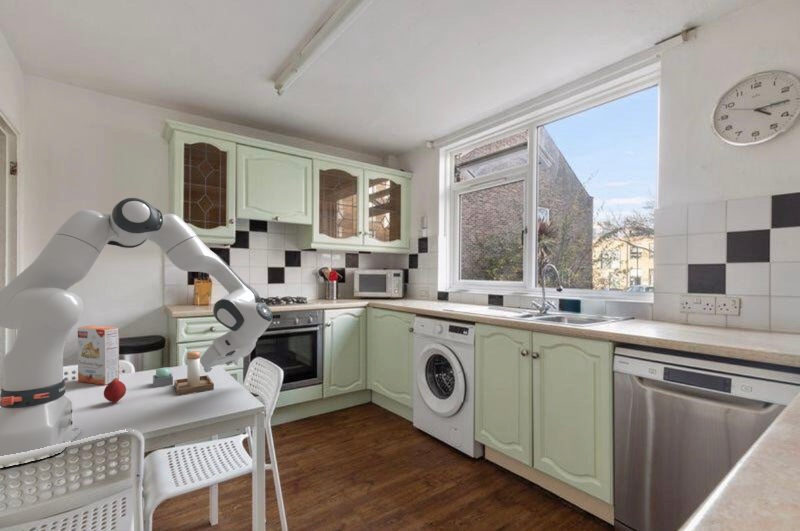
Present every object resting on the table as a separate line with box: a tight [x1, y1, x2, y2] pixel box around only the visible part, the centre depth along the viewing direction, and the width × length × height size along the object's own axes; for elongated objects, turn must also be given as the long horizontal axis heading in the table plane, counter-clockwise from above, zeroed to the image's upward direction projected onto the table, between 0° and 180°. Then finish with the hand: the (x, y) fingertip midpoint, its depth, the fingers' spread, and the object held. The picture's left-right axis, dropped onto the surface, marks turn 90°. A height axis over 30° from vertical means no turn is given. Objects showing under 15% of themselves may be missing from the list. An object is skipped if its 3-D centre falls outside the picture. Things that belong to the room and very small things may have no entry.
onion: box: [103, 378, 127, 404], centre depth 125 cm, size 6×6×8 cm
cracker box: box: [77, 325, 120, 386], centre depth 147 cm, size 14×6×21 cm, turn 73°
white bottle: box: [186, 350, 201, 387], centre depth 140 cm, size 4×4×12 cm
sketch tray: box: [173, 374, 215, 396], centre depth 140 cm, size 13×11×2 cm
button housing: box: [152, 372, 174, 388], centre depth 144 cm, size 6×6×3 cm
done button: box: [155, 367, 171, 379], centre depth 144 cm, size 4×4×4 cm
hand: (217, 367), depth 136 cm, fingers open, 8 cm apart
